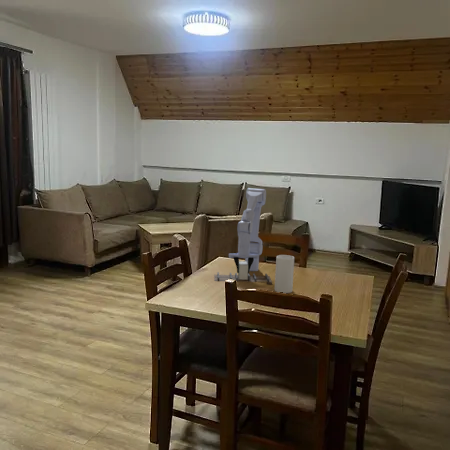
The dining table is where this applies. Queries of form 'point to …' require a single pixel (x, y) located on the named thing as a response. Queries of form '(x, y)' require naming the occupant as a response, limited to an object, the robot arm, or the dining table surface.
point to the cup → (284, 273)
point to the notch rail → (250, 279)
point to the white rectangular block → (243, 270)
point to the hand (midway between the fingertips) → (242, 272)
